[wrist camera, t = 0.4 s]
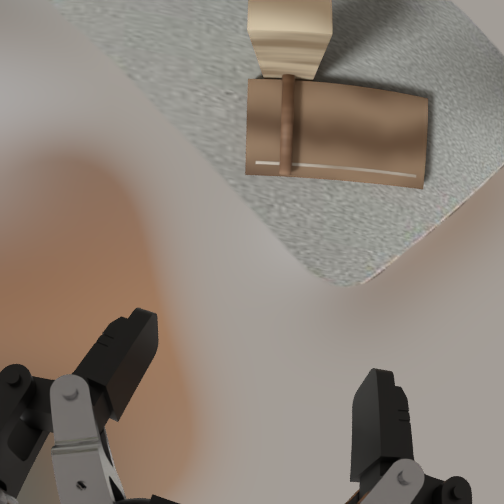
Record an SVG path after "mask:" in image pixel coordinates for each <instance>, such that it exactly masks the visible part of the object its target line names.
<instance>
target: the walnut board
mask: <svg viewBox="0 0 504 504" xmlns="http://www.w3.org/2000/svg"><path fill="white" fill-rule="evenodd" d="M281 104H282V80H277V79H248V99H247V134H246V171H245V175H264V176H285V177H302V178H317V179H330V180H342V181H353V182H364V183H374V184H383V185H392V186H401V187H409V188H417V189H423V184H424V174H425V162H426V147H427V126H428V98H423V97H418V96H414V95H409V94H403V93H398V92H392V91H387V90H381V89H374V88H367V87H360V86H352V85H344V84H335V83H325V82H313V81H298V80H295V83H294V120H293V148H292V171H291V175H281V174H279V163H280V136H281Z"/></svg>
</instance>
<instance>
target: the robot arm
mask: <svg viewBox="0 0 504 504" xmlns="http://www.w3.org/2000/svg"><path fill="white" fill-rule="evenodd" d="M157 347H158V321H157V314H156V313H153V312H150V311H147V310H143V309H141V308H136V309H135V310H134V311H133V312H132V314H131V315H130V317H129V318H128V319H127V318H124V317H120V318H118V319H116V320H115V321H113V322H112V323H110V324H109V325H108V327H107V328H106V329H105V331H104V332H103V334H102V335H101V336H100V337H99V338H98V340H97V342H96V343H95V344H94V345H93V347H92V348H91V349H90V351H89V352H88V353H87V355H86V356H85V357H84V359H83V360H82V362H81V363H80V364H79V366H78V367H77V369H76V370H75V371H74V372H73V373H72V374H69V375H63V376H61V377H59V378H58V379H56V380H49V379H44V378H39V377H34V376H31V374H30V372H29V370H28V369H27V368H26V367H25V366H23V365H20V364H12V365H9V366H7V367H5V368H4V369H3V370H2V371H1V372H0V504H18V502H17V500H16V498H17V496H18V493H19V491H20V490H21V487H22V485H23V483H24V481H25V479H26V477H27V475H28V473H29V471H30V469H31V467H32V465H33V463H34V461H35V459H36V457H37V455H38V453H39V451H40V450H41V448H42V446H43V444H44V442H45V440H46V438H47V436H48V434H49V433H50V432H53V433H54V439H55V446H53V447H52V450H51V455H52V462H53V468H54V473H55V479H56V484H57V489H58V494H59V498H60V503H61V504H179V503H175V502H173V501H170V500H167V499H164V498H161V497H158V496H156V495H152V497H151V499H146V498H134V499H126V496H125V493H124V490H123V487H122V485H121V482H120V479H119V477H118V474H117V472H116V469H115V465H114V462H113V458H112V454H111V450H110V446H109V443H108V438H107V434H106V430H105V424H106V423H107V421H108V419H109V418H111V419H113V420H115V421H117V422H118V421H119V419H120V417H121V416H122V414H123V412H124V410H125V408H126V406H127V405H128V402H129V401H130V399H131V397H132V395H133V393H134V392H135V390H136V388H137V386H138V385H139V383H140V381H141V379H142V377H143V375H144V374H145V372H146V370H147V368H148V367H149V365H150V363H151V361H152V360H153V358H154V356H155V354H156V351H157ZM408 411H409V408H408V400H407V397H406V395H405V393H404V391H403V390H402V388H401V387H398V386H395V383H394V375H393V372H392V371H387V370H381V369H375V368H373V369H371V371H370V372H369V374H368V375H367V377H366V378H365V380H364V381H363V383H362V384H361V386H360V387H359V389H358V390H357V392H356V394H355V397H354V400H353V406H352V452H351V474H350V482H360V489H359V490H358V491H357V492H356V493H355V494H354V495H353V496H352V497H351V498H350V499H349V500H348V501H347V502H346V503H345V504H472V492H471V487H470V485H469V483H468V482H467V481H466V480H465V479H464V478H462V477H459V476H454V477H451V478H449V479H448V480H446V481H442V480H439V479H436V478H433V477H430V476H428V475H426V474H424V472H423V470H422V468H421V466H420V465H419V464H418V463H417V462H415V461H414V456H413V445H412V434H411V425H410V423H409V422H410V416H409V413H408Z"/></svg>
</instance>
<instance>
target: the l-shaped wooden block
mask: <svg viewBox="0 0 504 504" xmlns="http://www.w3.org/2000/svg"><path fill="white" fill-rule="evenodd" d="M247 31H248V34H249V36H250V39H251V42H252V45H253V48H254V51H255V54H256V56H257V59H258V62H259V65H260V68H261V71H262V74H263V77H264V79H277V80H282V104H281V136H280V163H279V174H281V175H291V171H292V148H293V120H294V83H295V80H298V81H313V79H314V76H315V74H316V72H317V69H318V67H319V65H320V62H321V60H322V58H323V55H324V53H325V51H326V48H327V46H328V44H329V41H330V39H331V37H332V34H333V33H332V0H248V26H247Z"/></svg>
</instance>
